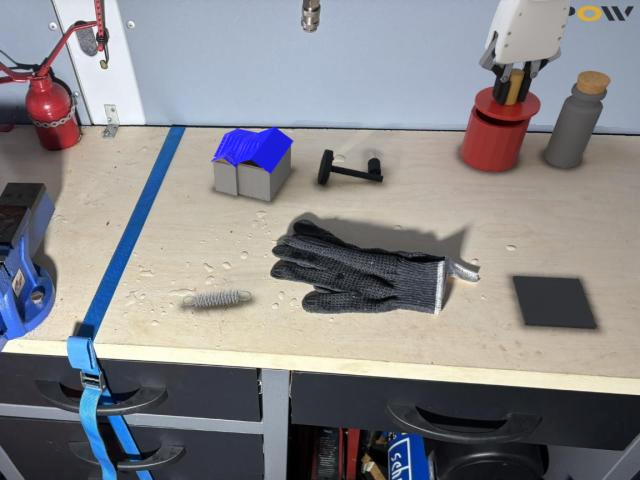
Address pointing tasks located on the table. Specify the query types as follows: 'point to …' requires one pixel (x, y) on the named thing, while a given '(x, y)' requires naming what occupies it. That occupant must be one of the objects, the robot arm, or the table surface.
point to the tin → (492, 141)
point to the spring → (217, 298)
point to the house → (252, 162)
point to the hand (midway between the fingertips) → (508, 98)
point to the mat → (553, 302)
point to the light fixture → (327, 167)
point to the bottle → (577, 120)
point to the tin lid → (509, 101)
